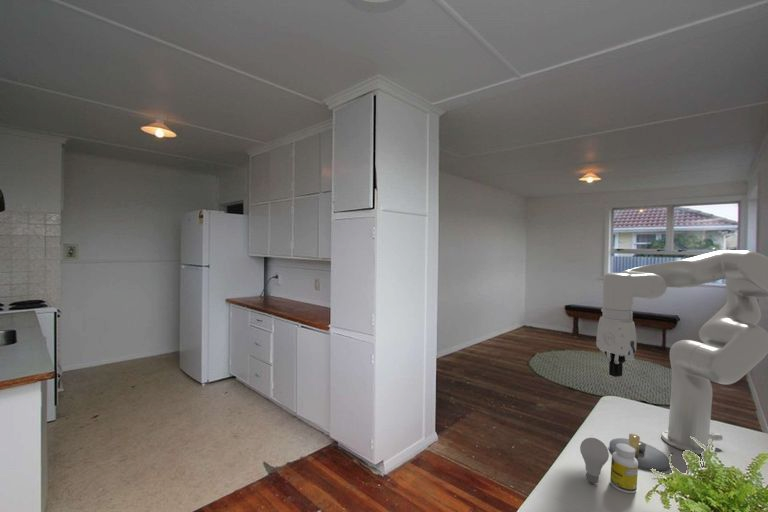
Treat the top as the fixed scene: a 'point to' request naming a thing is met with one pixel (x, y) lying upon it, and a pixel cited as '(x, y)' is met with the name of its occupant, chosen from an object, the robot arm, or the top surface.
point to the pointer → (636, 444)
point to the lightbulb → (594, 457)
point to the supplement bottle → (624, 468)
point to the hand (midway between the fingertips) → (615, 375)
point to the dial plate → (645, 456)
